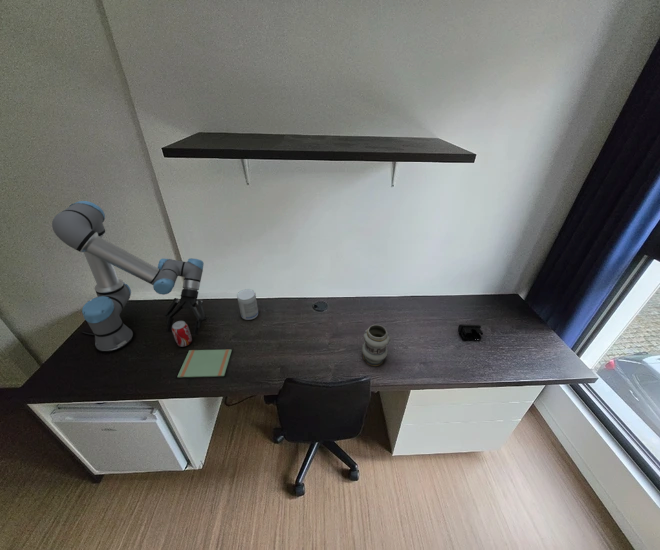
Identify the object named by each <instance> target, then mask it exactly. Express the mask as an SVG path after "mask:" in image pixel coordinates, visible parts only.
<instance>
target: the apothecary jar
mask: <svg viewBox="0 0 660 550" xmlns="http://www.w3.org/2000/svg"><path fill="white" fill-rule="evenodd" d="M363 340H364V342H363V343H362V345H361V352H362V354H363V355H362V358H363V359H362V360H364V361H365V362H366V364H367V365H369V366H372V367H378V366H381V365H382V364H383V363H384V361H385V358H386V357H387V356H388V353H389V348H388V344H389V343H390V342H391V337H390V333H389V332H388V331H387V328H386V327H385V326H383V325H381V324H372V325H370V326H369V327H368V328H367V329H365V331H364V332H363Z"/></svg>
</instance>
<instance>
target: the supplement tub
mask: <svg viewBox="0 0 660 550" xmlns="http://www.w3.org/2000/svg"><path fill="white" fill-rule="evenodd" d="M236 299H237V303H238V308H239V313H240V317H241V318H242V319H243V320H245V321H251V320H254V319H256V318H257V317H258V316H259V306H258V301H257V295H256V292H255V290H254V289H250V288H245V289H242V290H240V291H239V292H238V293H237V294H236Z"/></svg>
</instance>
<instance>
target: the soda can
mask: <svg viewBox="0 0 660 550" xmlns="http://www.w3.org/2000/svg"><path fill="white" fill-rule="evenodd" d="M171 333H172V335H173V338H174V341H175V342H176V345H177V346H178V347H180V348H181V347H182V348H184V347H187V346H189V345H190V344H192V342H193V337H192V334H191V329H190V328H189V325H188V323H187V322H186V321H184V320H177V321H175V322H173V325H172V330H171Z"/></svg>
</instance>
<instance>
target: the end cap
mask: <svg viewBox="0 0 660 550" xmlns="http://www.w3.org/2000/svg"><path fill="white" fill-rule="evenodd" d="M481 328H482V326H481V324H470V323H469V324H465V323H464V324H462V323H461V324H459V325H458V327H457V332H458V333H457V334H458V335H459V337H460V339H461V341H463V342H480V341H481V339H482V338H483V337H482V336H483V335H484V332H483V331H482V329H481ZM475 339H476V340H475ZM477 339H480V340H477Z"/></svg>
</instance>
